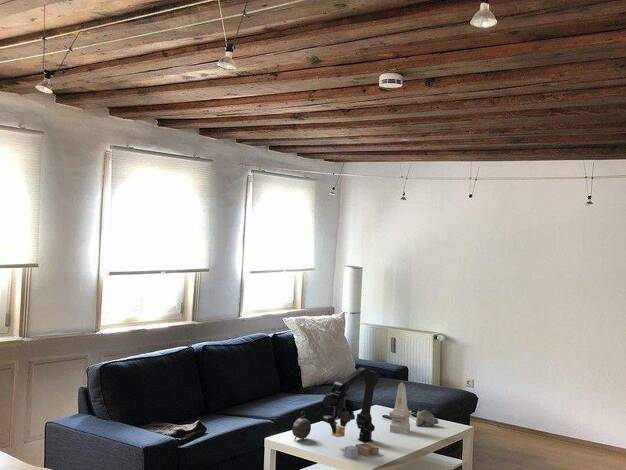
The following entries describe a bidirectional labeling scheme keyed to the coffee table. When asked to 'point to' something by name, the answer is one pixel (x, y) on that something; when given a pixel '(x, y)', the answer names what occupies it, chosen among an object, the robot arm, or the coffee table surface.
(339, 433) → the oak cube
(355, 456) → the grey cube
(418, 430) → the coffee table surface
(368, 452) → the walnut block
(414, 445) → the coffee table surface
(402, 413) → the miniature monument
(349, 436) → the coffee table surface
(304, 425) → the alarm clock
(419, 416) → the mineral rock
